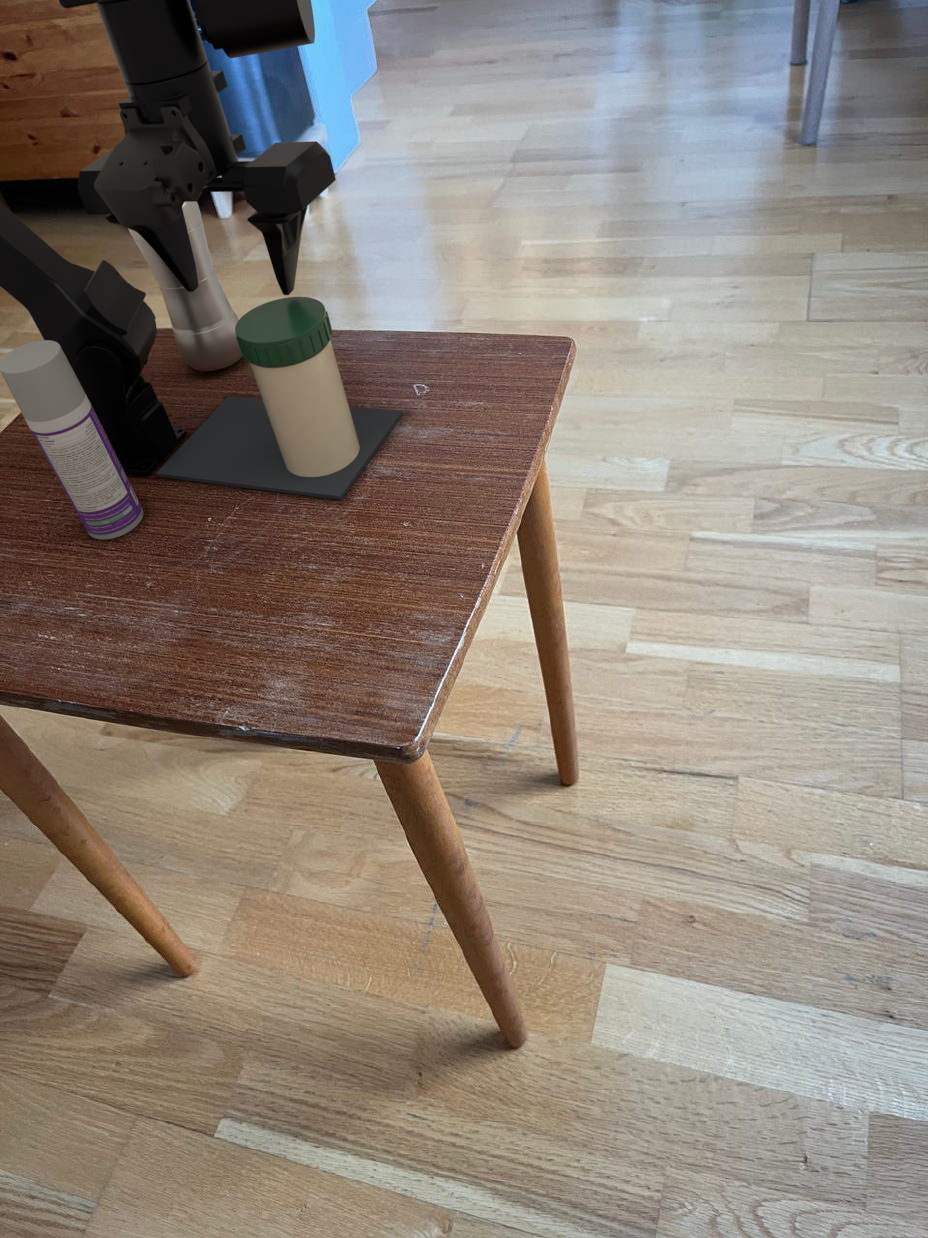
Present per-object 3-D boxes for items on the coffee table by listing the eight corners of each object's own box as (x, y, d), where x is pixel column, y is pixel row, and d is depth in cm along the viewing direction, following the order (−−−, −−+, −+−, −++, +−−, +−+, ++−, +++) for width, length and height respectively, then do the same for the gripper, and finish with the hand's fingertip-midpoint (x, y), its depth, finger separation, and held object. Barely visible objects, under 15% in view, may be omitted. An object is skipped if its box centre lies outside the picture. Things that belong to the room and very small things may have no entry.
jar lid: (225, 364, 71) (216, 340, 70) (270, 318, 76) (263, 294, 74) (306, 370, 69) (298, 345, 67) (348, 321, 73) (341, 297, 72)
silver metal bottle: (238, 378, 91) (159, 162, 77) (175, 381, 93) (86, 169, 79) (261, 343, 96) (190, 133, 82) (200, 346, 97) (120, 140, 83)
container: (97, 506, 80) (10, 343, 69) (150, 500, 79) (70, 335, 69) (79, 542, 76) (-15, 377, 66) (134, 536, 76) (48, 369, 65)
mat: (157, 476, 81) (155, 473, 81) (229, 399, 89) (228, 395, 89) (341, 500, 75) (340, 496, 75) (403, 414, 82) (402, 410, 82)
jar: (270, 473, 78) (223, 343, 70) (306, 429, 82) (266, 301, 74) (339, 481, 76) (298, 348, 68) (372, 435, 80) (338, 304, 72)
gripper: (-20, 119, 62) (84, 338, 73) (219, 107, 55) (294, 350, 66) (84, 62, 69) (165, 270, 80) (308, 46, 62) (362, 275, 73)
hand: (240, 291), depth 74 cm, fingers open, 8 cm apart
